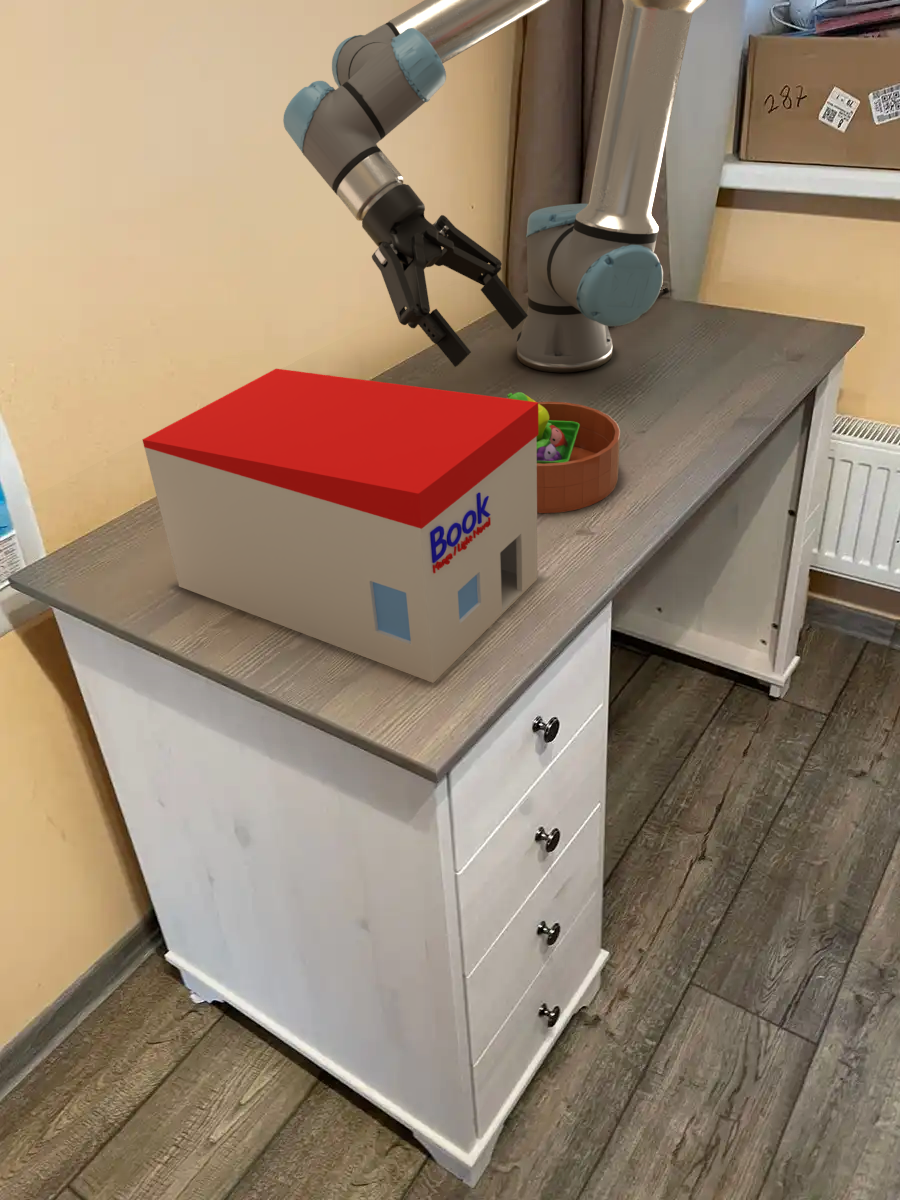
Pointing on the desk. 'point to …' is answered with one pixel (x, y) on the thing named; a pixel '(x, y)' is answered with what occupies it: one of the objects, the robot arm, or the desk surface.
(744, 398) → the desk surface
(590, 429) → the pot
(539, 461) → the fruit basket
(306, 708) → the desk surface
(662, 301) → the desk surface
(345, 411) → the bookstore
